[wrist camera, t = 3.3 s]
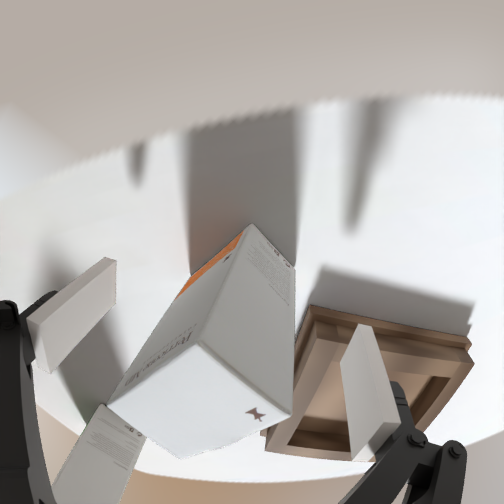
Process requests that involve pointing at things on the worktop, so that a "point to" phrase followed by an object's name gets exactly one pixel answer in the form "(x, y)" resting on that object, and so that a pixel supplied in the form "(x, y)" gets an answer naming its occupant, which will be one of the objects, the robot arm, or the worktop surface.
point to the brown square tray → (331, 386)
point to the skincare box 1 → (99, 461)
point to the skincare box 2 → (217, 354)
